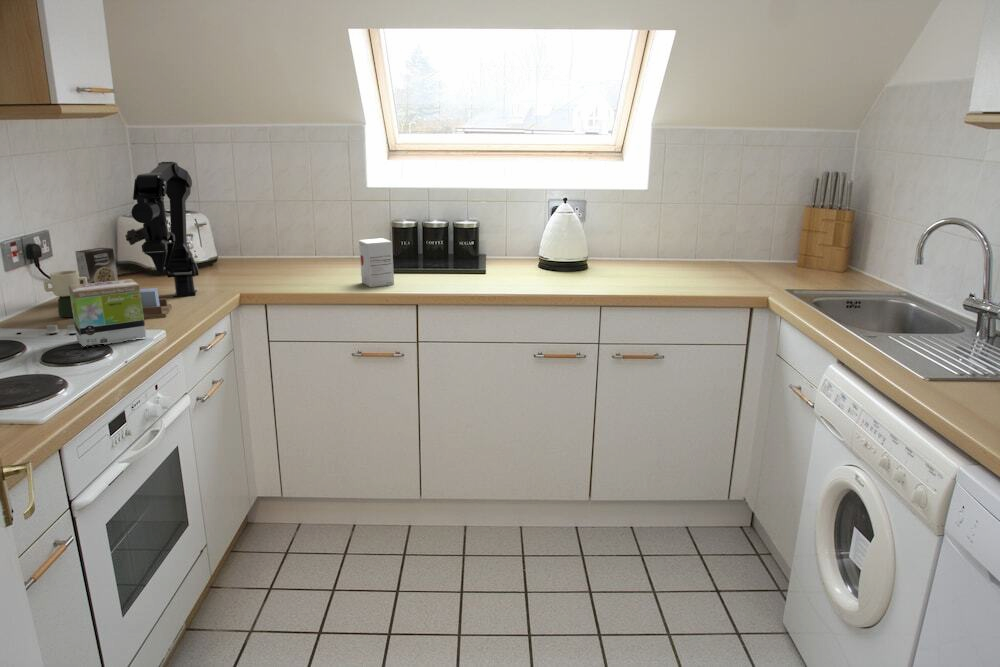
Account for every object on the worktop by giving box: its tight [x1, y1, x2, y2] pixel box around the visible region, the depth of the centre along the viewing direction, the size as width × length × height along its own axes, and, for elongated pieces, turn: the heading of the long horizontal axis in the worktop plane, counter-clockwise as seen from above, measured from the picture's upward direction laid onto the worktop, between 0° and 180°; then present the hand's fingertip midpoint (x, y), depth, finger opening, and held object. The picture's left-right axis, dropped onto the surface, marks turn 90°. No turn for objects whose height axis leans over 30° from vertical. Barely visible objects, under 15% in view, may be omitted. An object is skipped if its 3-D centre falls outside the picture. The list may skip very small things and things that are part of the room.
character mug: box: [43, 270, 88, 318], centre depth 215 cm, size 11×7×13 cm, turn 118°
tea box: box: [69, 278, 147, 347], centre depth 190 cm, size 15×10×15 cm, turn 126°
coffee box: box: [74, 247, 119, 284], centre depth 235 cm, size 9×6×16 cm
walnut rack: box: [142, 298, 172, 320], centre depth 217 cm, size 12×14×3 cm
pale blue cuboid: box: [140, 287, 160, 307], centre depth 217 cm, size 5×9×6 cm, turn 106°
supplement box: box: [358, 237, 395, 288], centre depth 253 cm, size 9×9×15 cm
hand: (163, 270), depth 222 cm, fingers open, 9 cm apart
